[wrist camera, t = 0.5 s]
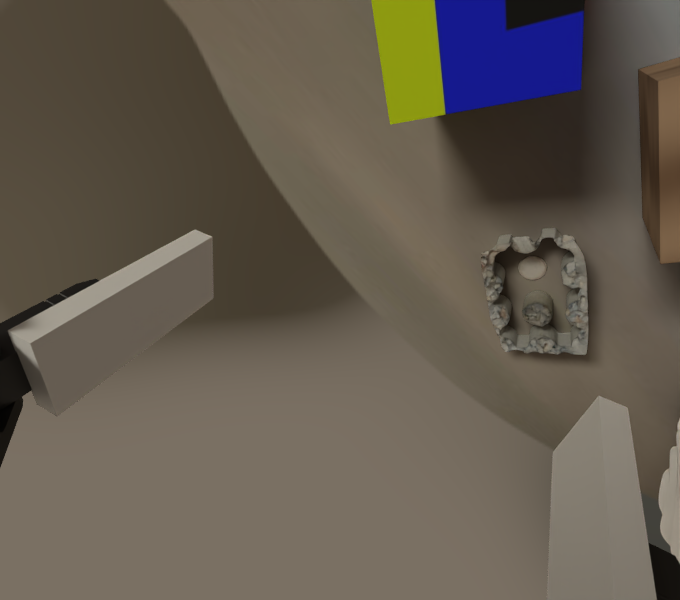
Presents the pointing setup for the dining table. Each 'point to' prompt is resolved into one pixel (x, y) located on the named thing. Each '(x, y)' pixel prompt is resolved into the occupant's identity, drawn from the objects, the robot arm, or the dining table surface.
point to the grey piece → (539, 297)
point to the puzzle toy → (475, 53)
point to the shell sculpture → (671, 500)
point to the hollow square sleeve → (661, 156)
